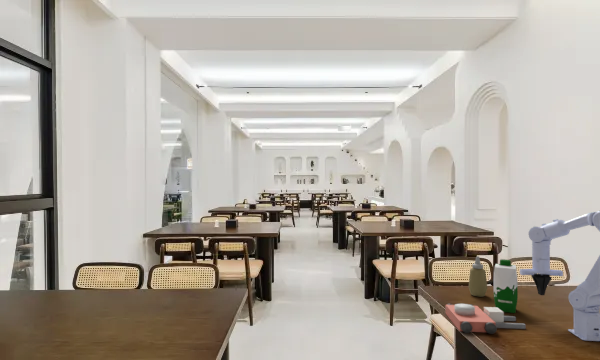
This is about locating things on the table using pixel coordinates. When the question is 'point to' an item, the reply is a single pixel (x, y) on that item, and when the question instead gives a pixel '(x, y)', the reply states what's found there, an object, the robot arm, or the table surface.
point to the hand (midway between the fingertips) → (541, 294)
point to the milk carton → (505, 286)
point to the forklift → (477, 319)
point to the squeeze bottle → (477, 279)
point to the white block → (495, 314)
